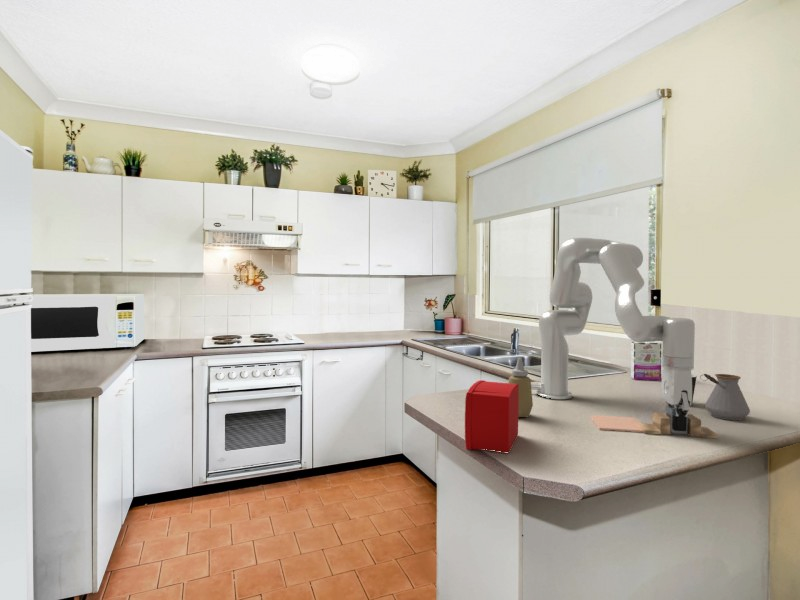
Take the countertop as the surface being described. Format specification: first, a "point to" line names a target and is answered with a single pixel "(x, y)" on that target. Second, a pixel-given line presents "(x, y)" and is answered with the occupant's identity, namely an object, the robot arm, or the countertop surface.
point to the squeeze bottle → (522, 388)
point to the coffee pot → (726, 398)
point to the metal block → (670, 414)
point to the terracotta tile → (617, 423)
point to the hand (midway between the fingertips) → (676, 427)
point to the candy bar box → (646, 361)
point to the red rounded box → (491, 416)
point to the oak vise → (663, 423)
